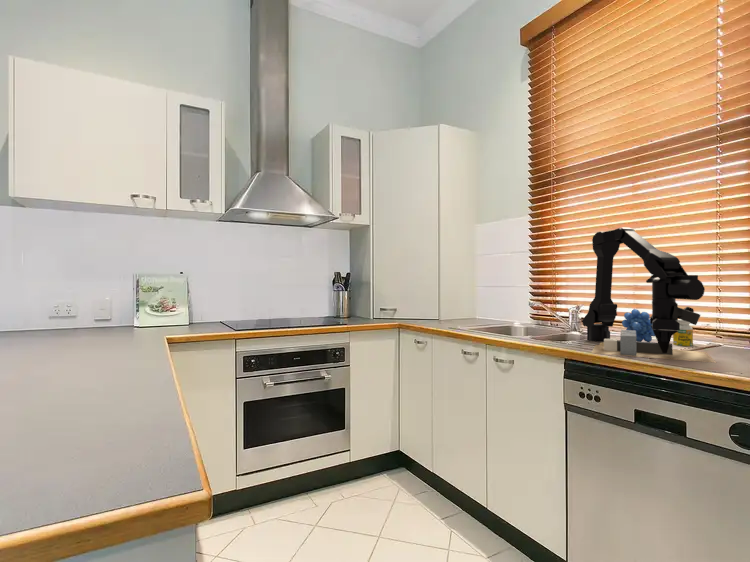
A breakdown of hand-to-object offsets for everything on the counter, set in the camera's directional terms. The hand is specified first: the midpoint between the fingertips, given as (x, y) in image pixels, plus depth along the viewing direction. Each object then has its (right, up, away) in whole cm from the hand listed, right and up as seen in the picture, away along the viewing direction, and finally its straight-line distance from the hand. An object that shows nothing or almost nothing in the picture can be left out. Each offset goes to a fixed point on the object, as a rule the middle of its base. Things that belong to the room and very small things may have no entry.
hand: (663, 351), depth 125 cm
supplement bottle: (+17, -2, +16) cm, 24 cm away
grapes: (+11, -2, +30) cm, 32 cm away
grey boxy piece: (-8, -1, +5) cm, 9 cm away
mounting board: (-3, -2, +2) cm, 4 cm away
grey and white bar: (-6, -1, +4) cm, 7 cm away
